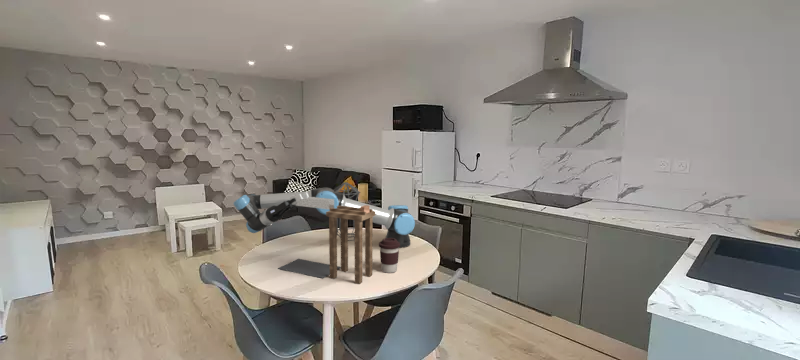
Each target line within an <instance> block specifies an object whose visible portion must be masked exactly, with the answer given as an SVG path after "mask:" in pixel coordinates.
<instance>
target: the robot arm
mask: <svg viewBox="0 0 800 360" xmlns="http://www.w3.org/2000/svg"><path fill="white" fill-rule="evenodd" d="M344 194H345V193H344ZM344 194H341V193H339V192H338V193H337V192H335V190H334V189H332V188H331V187H319V188H311V189H309V191H295V192H281V193H280V192H279V193H268V194H267V193H266V194H253V193H251V194H248V195H247V194H243V195H242V196H239V198H237V199H236V200H234V201H233V206H234V207H235V209H236V210H237V211H238V212H239V214H240V215H241V216H242V217H243V218H244V220H245V221H246V223H245V226H246V229H247V231H248V232H250V233H252V234H256V233H258V232H260V231H261V232H262V231H263V230H265V229H266V228H268V227H269V226H271V227H272V226H273V224H274V223H276V222H277V221H279V220H281V219H282V218H283V215H284V214H286V213H287V212H288V211H291V210H293V209H294V208H296V207H297V206H296V205H293V204H295V203H297V202H298V201H300V200H302V199H303V198H302V196H309V197H318V198H327V199H334V208H337V206H347V207H356V208H360V207H362V206H364V205H369V206H370V209H373V211H376V215H375V216H373V223H374V224H377V225H381V226H384V227H385V229H386V230H387V232H386V235H385V238H394V239H396V240H397V241H398V242H400V247H399V249H401V248H402V247H403V248H407V247H409V246H411V237H410V233H412V232H413V230H415V229H414V228H415V226H416V221H415V218H414V216H413V215H412V214H410V213H409V207H408V205H406V204H405V205H404V204H392V205H389V206H388V207H387V208H382V207H378V206H376V205H372V204H368V203H364V202H360V201H358V200H357V201H355V200H354V199H352V198H350V199H347V197H346V195H344ZM294 195H296V196H295V197H293V198H292V199H290V196H294ZM291 204H292V205H291ZM261 209H264V210H263V211H260V210H261ZM315 209H316V210H317V212H319V213H320V214H322V215H324V216H326V212H328V211H330V209H321V208H315Z"/></svg>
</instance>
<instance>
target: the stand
mask: <svg viewBox="0 0 800 360" xmlns="http://www.w3.org/2000/svg"><path fill="white" fill-rule="evenodd" d="M369 205H370V204H369ZM369 205H364V206H362V207H360V208H356V207H347V206H337V208H330V211H328V212H326V215H325V217H328V233H329V234H328V241H329V242H328V244H329V249H328V250H329V252H328V253H329V259H328V260H329V265H330V275H329V279H332V280H335V279H337V278H338V270H337V266H338V235H337V218H338V219H339V218H340V219H341V238H340V267H341V268H340V272H343V273H346V272H348V271H349V241H348V240H349V238H348V236H349V235H348V233H349V229H348V228H349V220H352V221H353V220H355V223H354V228H355V229H354V232H355V233H354V234H355V240H354V284H356V285H361V284H362V283H363V222H364V224H365V229H364V235H365V236H364V256H365V257H364V276H365V277H367V278H371V277H372V276H373V234H374V233H373V225H374V224H373V216H375V215H376V211H373V209H370V206H369Z"/></svg>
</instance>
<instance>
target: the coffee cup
mask: <svg viewBox="0 0 800 360" xmlns="http://www.w3.org/2000/svg"><path fill="white" fill-rule="evenodd" d="M378 247H379V248H380V250H379V257H380V263H381V264H380V265H381V267H380V268H381V271H382V272H383V273H385V274H386V273H387V274H393V273H395V272H397V270H398V262H399V253H400V251H399V249H400V248H399V247H400V242H398V241H397V240H396V239H394V238H386V237H384V238H383V239H382V240H381V241H379V242H378Z"/></svg>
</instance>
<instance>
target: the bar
mask: <svg viewBox="0 0 800 360" xmlns="http://www.w3.org/2000/svg"><path fill="white" fill-rule="evenodd" d="M295 196H296V195H294V196H290V199H292V198H293V197H295ZM302 198H303V199H302V200H300V201H298V202H297V203H295V204H293V205H296V207H306V208H314V209H316V208H321V209H330V208H334V199H327V198H318V197H309V196H302ZM291 205H292V204H291Z"/></svg>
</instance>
